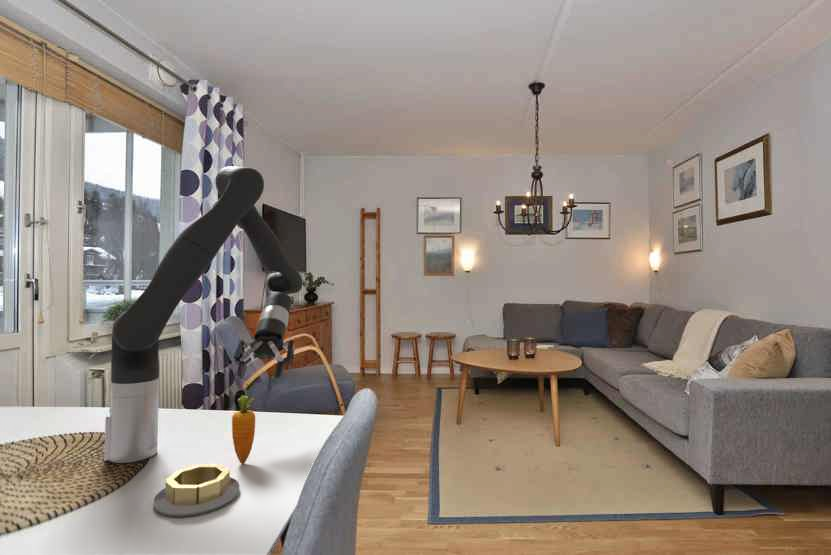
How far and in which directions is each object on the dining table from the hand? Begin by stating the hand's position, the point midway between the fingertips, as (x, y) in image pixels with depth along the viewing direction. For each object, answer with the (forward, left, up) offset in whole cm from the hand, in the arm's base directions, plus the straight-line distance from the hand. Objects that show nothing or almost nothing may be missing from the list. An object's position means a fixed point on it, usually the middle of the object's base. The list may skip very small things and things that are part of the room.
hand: (258, 377), depth 105 cm
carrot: (0, -10, -17) cm, 20 cm away
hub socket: (-3, -25, -17) cm, 30 cm away
